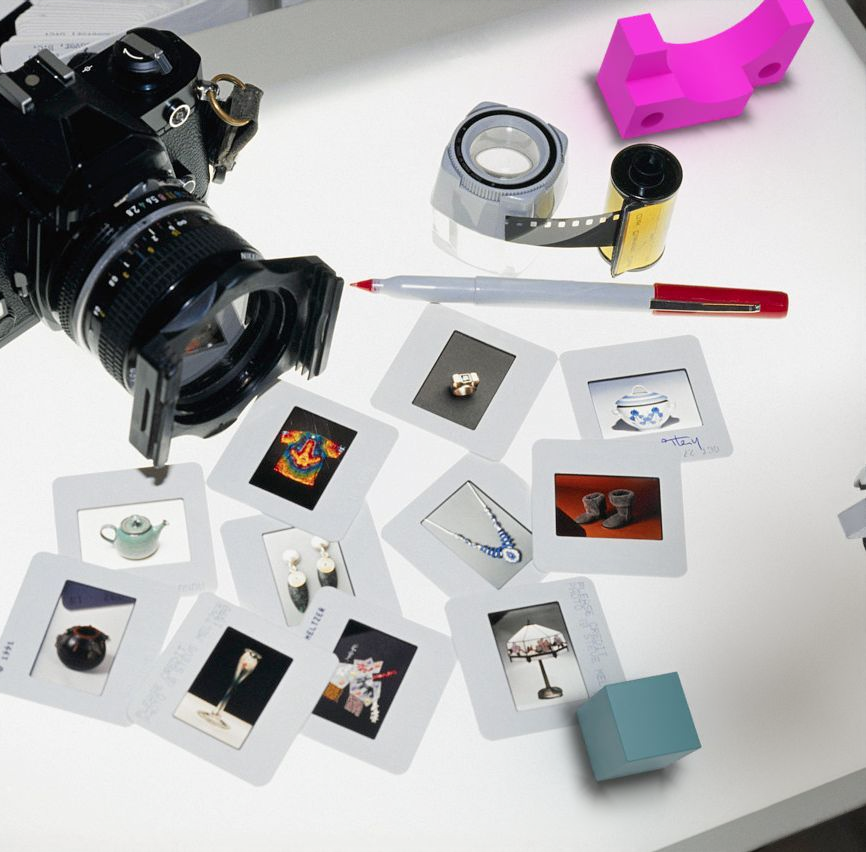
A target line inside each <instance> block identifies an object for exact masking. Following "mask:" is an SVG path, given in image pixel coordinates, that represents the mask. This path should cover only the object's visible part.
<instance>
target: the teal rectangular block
mask: <svg viewBox="0 0 866 852" xmlns="http://www.w3.org/2000/svg"><path fill="white" fill-rule="evenodd" d="M575 713H576V717H577V720H578V724H579V727H580V731H581V734H582V737H583V741H584V745H585V748H586V752H587V755H588V759H589V762H590V765H591V769H592V774H593V776H594V777H593V778H594V780H595V782H602V781H607V780H611V779H616V778H621V777H628V776H632V775H636V774H643V773H647V772H653V771H656V770H662V769H665V768H666V767H669V766H670V765H672V764H674V763H676V762H678V761H679V760H681V759H684V758H685V757H687V756H689V755H691V754H693V753H694V752H696V751H698V750H700V749H701V748H702V744H701V742H700V741H701V740H700V737H699V734H698V731H697V729H696V726H695V723H694V720H693V716H692V712H691V710H690V707H689V703H688V701H687V698H686V694H685V691H684V688H683V684H682V682H681V679H680V675H679V673H678V671H672V672H668V673H662V674H657V675H652V676H646V677H642V678H641V677H640V678H636V679H631V680H625V681H619V682H615V683H610V684H605V685H604V686H603V687H601V688H600V689H599V690H598V691H597V692H596V693H594V695H592V696H591V697H590V698H589V699H588V700H587V701H586V702H584V703H583V704H582V705H581V706H579V708H578V709H577V710H576V711H575Z"/></svg>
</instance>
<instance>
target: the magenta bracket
mask: <svg viewBox="0 0 866 852" xmlns="http://www.w3.org/2000/svg"><path fill="white" fill-rule="evenodd" d="M814 24H815V19H814V17H813V15H812V14H811V11H810V10H809V8H808V6H807V4H806V2H805V1H804V0H762V2H761V3H760V4H759V5H758V6H757V7H755V9H754V10H752V12H750V13H749V14H748V15H747V16H745V17H743V19H741V20H740V21H738V22H737V23H735V24H734V25H732V26H730V27H729V28H727V29H725V30H724V31H722V32H721V31H720V32H719V33H717V34H715V35H712V36H709V37H706V38H704V39H701V40H697V41H692V42H686V43H673V42H668V41H665V40H664V38H663V36H662V35H661V32H660V29H659V27H658V26H657V24H656V22H655V20H654V17H653V16H652V13H650V12H648V13H641V14H637V15H636V14H635V15H632V16H631V15H630V16H626V17H621V18H620V17H619V18H617V21H616V24H615V26H614V29H613V31H612V35H611V37H610V40H609V43H608V46H607V48H606V51H605V54H604V57H603V59H602V61H601V64H600V68H599V70H598V73H597V76H596V78H595V82H596V83H597V85H598V88H599V90H600V93H601V94H602V97H603V99H604V102H605V104H606V107H607V108H608V110H609V112H610V114H611V117H612V120H613V122H614V124H615V125H616V129H617V130H618V132H619V135H620V137H621V140H626V139H627V140H628V139H632V138H636V137H641V136H646V135H652V134H655V133H661V132H664V131H665V132H666V131H671V130H675V129H681V128H686V127H691V126H695V125H700V124H707V123H711V122H715V121H720V120H721V121H722V120H726V119H730V118H735V117H740V116H741V115H742V113H743V111H744V109H745V108H746V107H747V104H748V103H749V100H750V98H751V96H752V95H753V93H754V91H755V90H754V88H755V87H760V86H761V87H762V86H766V85H770V84H777V83H781V81H782V80H783V78H784V76H785V75H786V73H787V71H788V69H789V67H790V65H791V64H792V62H793V60H794V58H795V57H796V55H797V53H798V51H799V50H800V48H801V46H802V44H803V43H804V41H805V39H806V38H807V35H808V34H809V31H810V30H811V28H812V27H813V25H814Z"/></svg>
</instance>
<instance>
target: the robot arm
mask: <svg viewBox="0 0 866 852" xmlns="http://www.w3.org/2000/svg"><path fill="white" fill-rule="evenodd" d="M853 487H854V488H856V489H859V491H866V464H865V465H864V466H863V467H862V468H861V469H860V470H859V472H858V473H857V475H856V477H855V479H854V482H853ZM837 518H838V521H839V524H840V526H841V528H842V532H843V534H844V537H845V539H846V540H854V539H862V545H863V548H864V551H865V552H866V497H864V498H862V499H861V500H860V501H858V502H856V503H855V504H853V505H851V506H850V507H847V508H846V509H844V510H843V511H841V512H839V513H838V514H837Z"/></svg>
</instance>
